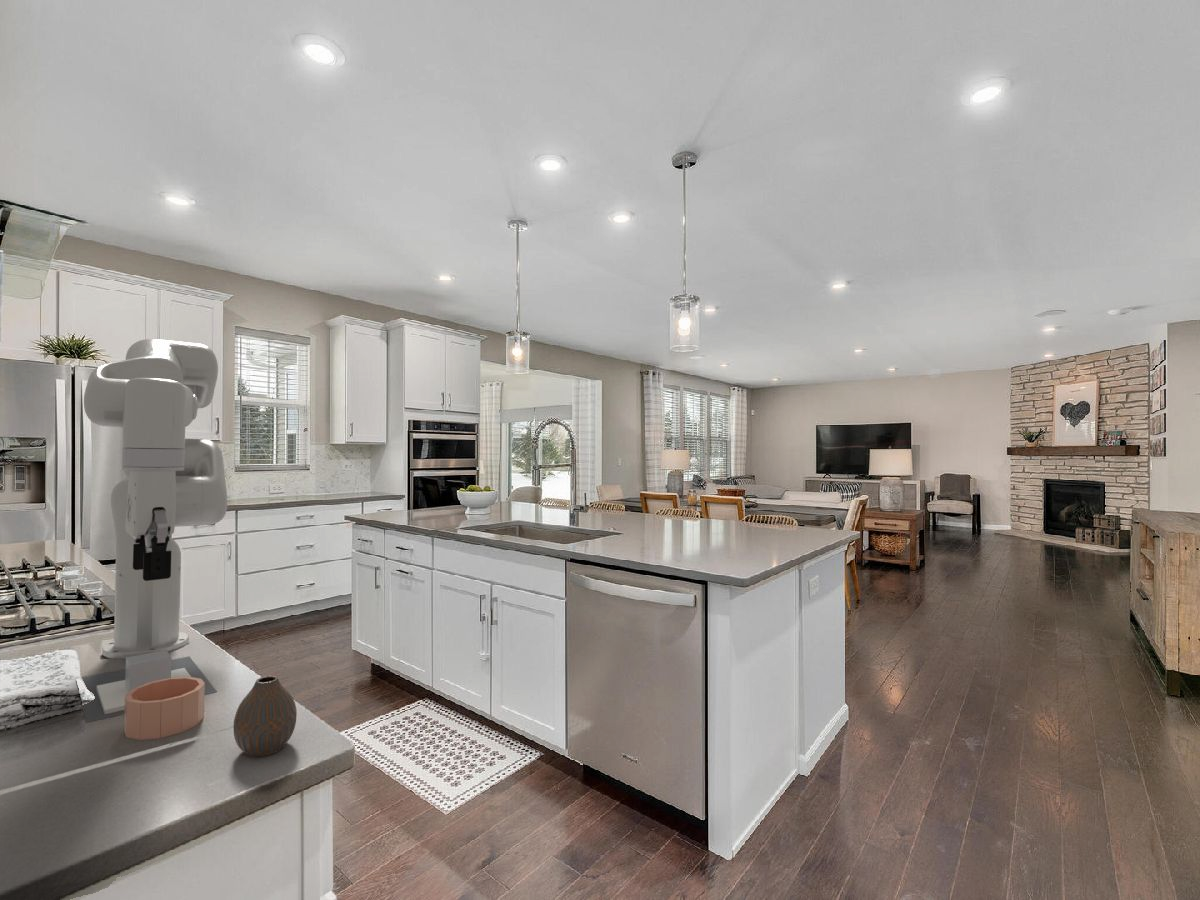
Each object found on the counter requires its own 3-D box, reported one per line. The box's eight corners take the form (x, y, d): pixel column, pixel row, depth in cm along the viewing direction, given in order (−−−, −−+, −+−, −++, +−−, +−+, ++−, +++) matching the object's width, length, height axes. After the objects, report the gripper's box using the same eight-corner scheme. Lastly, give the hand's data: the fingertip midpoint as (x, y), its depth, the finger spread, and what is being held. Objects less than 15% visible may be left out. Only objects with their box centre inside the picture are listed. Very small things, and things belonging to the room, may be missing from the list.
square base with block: (96, 689, 89) (97, 656, 89) (184, 671, 96) (185, 640, 96) (104, 714, 81) (105, 677, 81) (199, 692, 89) (200, 658, 89)
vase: (267, 766, 70) (270, 693, 70) (218, 758, 71) (220, 686, 71) (307, 738, 76) (309, 671, 76) (262, 732, 78) (264, 666, 78)
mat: (75, 680, 92) (75, 678, 92) (189, 658, 103) (189, 656, 103) (86, 725, 78) (86, 722, 78) (217, 694, 89) (217, 691, 89)
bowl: (120, 725, 79) (121, 688, 79) (195, 706, 85) (196, 672, 85) (129, 749, 73) (130, 708, 73) (209, 727, 79) (210, 690, 79)
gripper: (114, 459, 92) (112, 567, 92) (130, 462, 80) (127, 587, 80) (173, 459, 97) (170, 562, 97) (196, 462, 85) (193, 580, 85)
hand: (151, 573), depth 88 cm, fingers open, 9 cm apart
